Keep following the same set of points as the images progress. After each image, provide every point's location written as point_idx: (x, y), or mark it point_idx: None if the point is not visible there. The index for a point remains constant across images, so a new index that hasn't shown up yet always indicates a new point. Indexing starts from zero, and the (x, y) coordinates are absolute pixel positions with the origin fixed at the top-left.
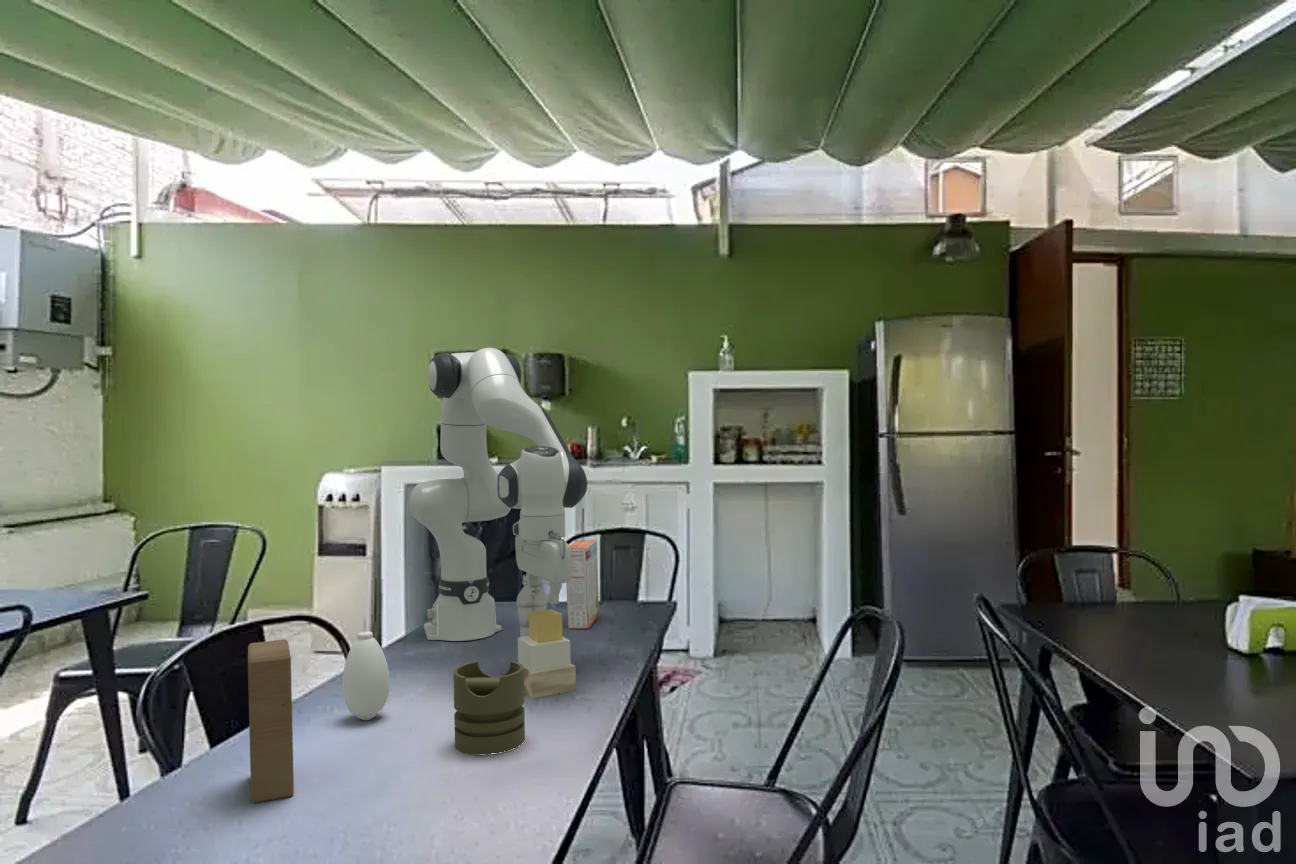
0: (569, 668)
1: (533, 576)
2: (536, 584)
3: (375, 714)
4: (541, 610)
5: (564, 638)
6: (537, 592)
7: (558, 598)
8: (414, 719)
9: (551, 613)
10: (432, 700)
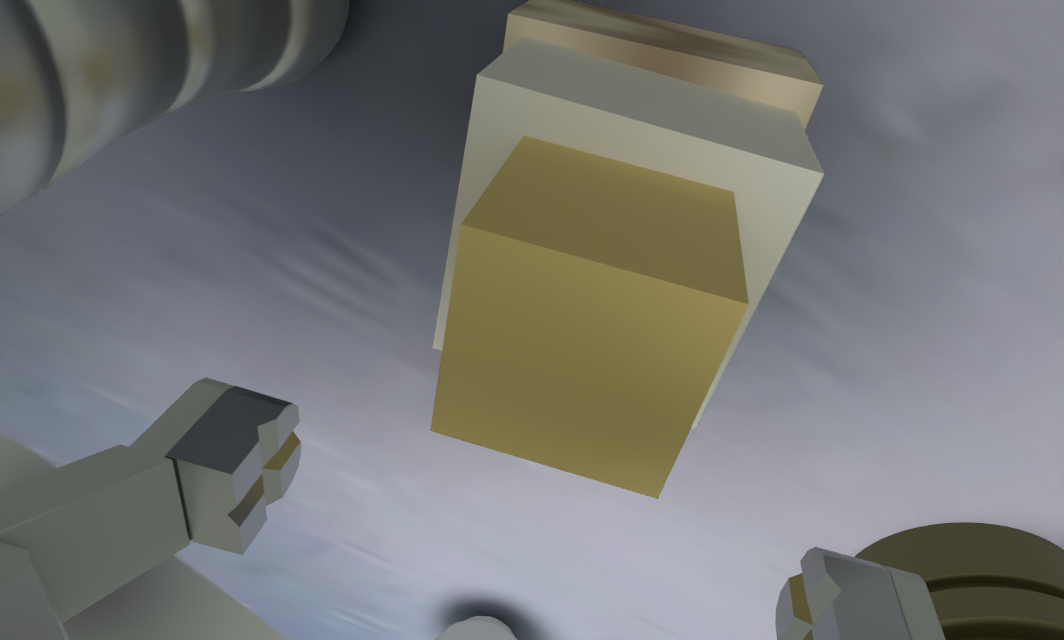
0: (803, 128)
1: (49, 622)
2: (154, 490)
3: (508, 631)
4: (77, 28)
5: (720, 158)
6: (279, 444)
7: (936, 629)
8: (587, 584)
9: (630, 351)
10: (456, 482)
